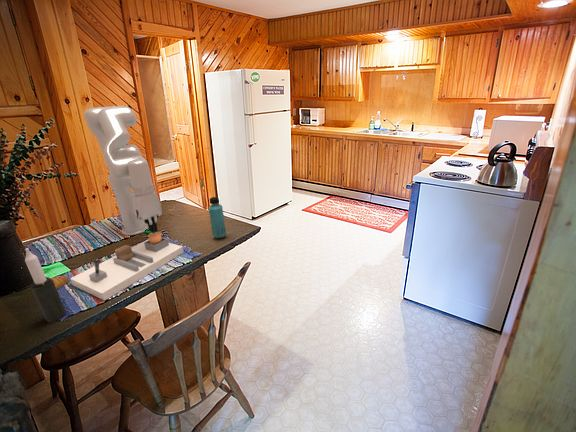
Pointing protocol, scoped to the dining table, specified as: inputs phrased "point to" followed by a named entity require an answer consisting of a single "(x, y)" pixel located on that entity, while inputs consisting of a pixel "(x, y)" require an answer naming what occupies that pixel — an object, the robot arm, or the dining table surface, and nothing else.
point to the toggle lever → (97, 265)
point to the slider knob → (124, 253)
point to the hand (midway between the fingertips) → (153, 231)
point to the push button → (155, 238)
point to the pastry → (59, 281)
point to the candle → (44, 290)
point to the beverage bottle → (217, 218)
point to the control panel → (126, 269)
